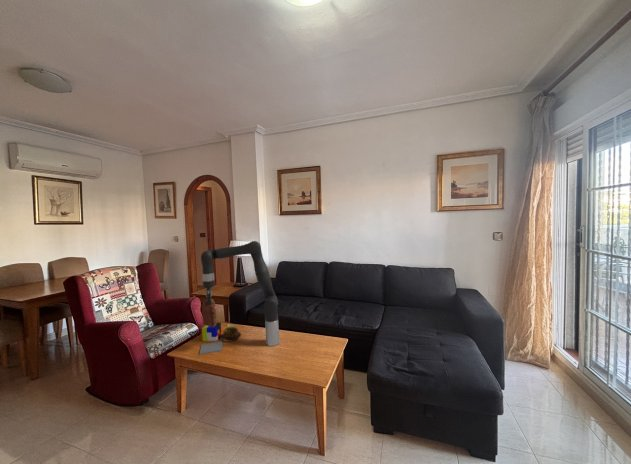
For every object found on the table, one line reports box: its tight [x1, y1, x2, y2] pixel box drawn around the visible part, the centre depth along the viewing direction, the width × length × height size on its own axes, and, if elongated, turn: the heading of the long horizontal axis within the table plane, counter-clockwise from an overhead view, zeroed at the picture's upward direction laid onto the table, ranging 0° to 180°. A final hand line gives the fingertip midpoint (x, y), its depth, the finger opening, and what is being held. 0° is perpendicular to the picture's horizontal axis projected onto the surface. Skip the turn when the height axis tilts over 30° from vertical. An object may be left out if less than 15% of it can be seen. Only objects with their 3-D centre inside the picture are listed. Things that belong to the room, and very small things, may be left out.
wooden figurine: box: [201, 298, 218, 327], centre depth 175 cm, size 12×6×18 cm, turn 63°
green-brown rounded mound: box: [218, 323, 242, 342], centre depth 193 cm, size 17×16×10 cm
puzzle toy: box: [201, 322, 222, 342], centre depth 192 cm, size 10×10×10 cm
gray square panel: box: [199, 341, 223, 356], centre depth 176 cm, size 14×13×1 cm
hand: (209, 303), depth 175 cm, fingers closed on wooden figurine, 7 cm apart
